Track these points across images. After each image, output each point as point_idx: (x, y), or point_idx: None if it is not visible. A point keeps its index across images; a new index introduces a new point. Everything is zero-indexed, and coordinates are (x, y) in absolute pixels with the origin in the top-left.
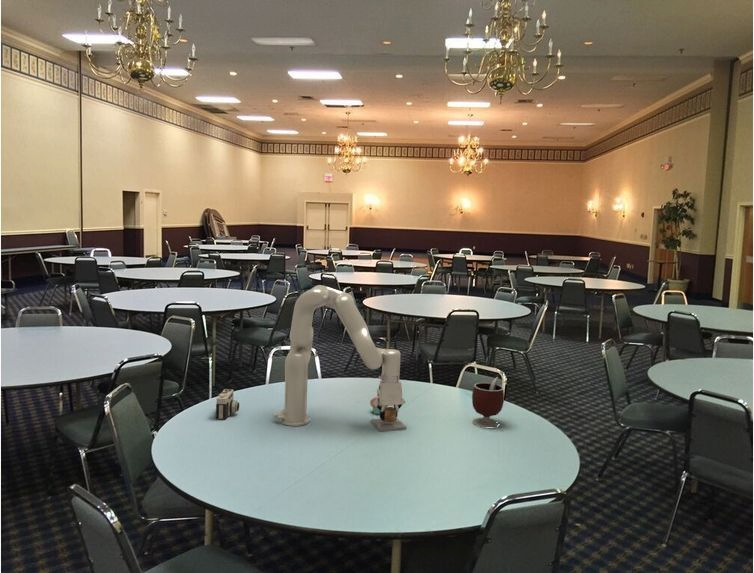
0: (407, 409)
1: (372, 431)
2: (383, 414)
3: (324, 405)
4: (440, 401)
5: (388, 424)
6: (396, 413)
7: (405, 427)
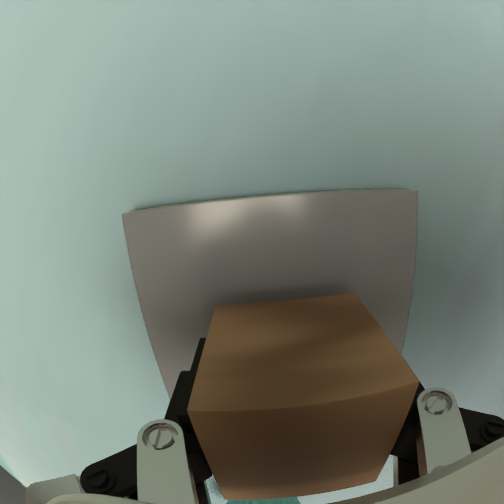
0: None
1: (449, 207)
2: None
3: None
4: (29, 464)
5: None
6: (188, 387)
7: (133, 211)
